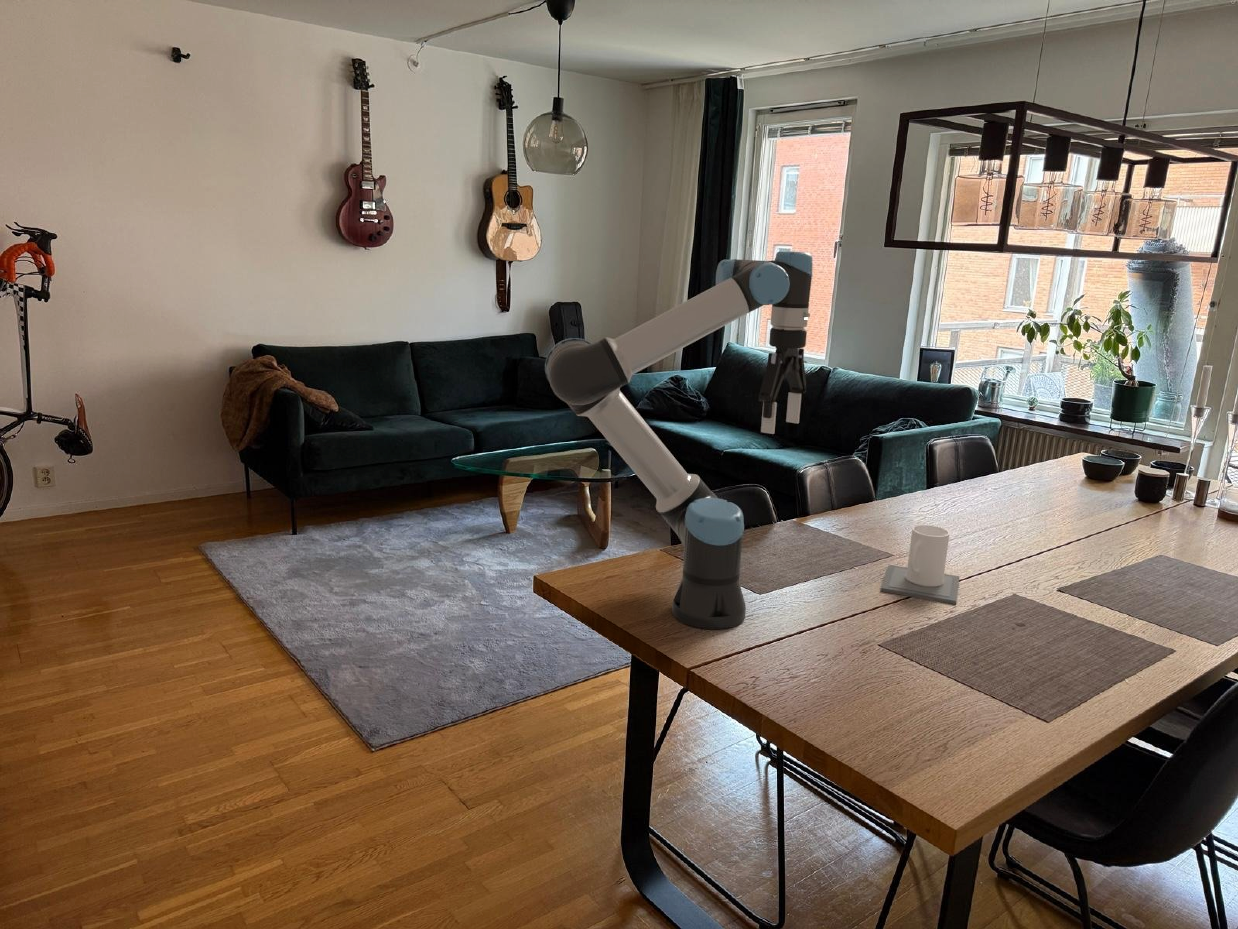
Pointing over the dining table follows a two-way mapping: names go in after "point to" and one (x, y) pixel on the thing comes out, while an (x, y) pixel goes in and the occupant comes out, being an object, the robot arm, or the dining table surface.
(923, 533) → the mug
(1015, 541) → the dining table surface
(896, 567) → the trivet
